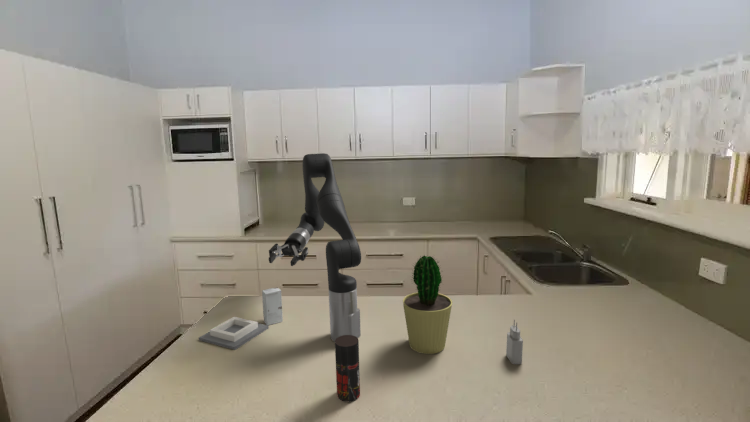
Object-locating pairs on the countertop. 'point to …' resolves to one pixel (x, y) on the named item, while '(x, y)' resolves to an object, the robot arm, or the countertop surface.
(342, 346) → the deodorant
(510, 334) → the power adapter
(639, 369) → the countertop surface
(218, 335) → the socket plate
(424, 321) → the potted cactus
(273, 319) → the skincare box
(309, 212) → the robot arm
